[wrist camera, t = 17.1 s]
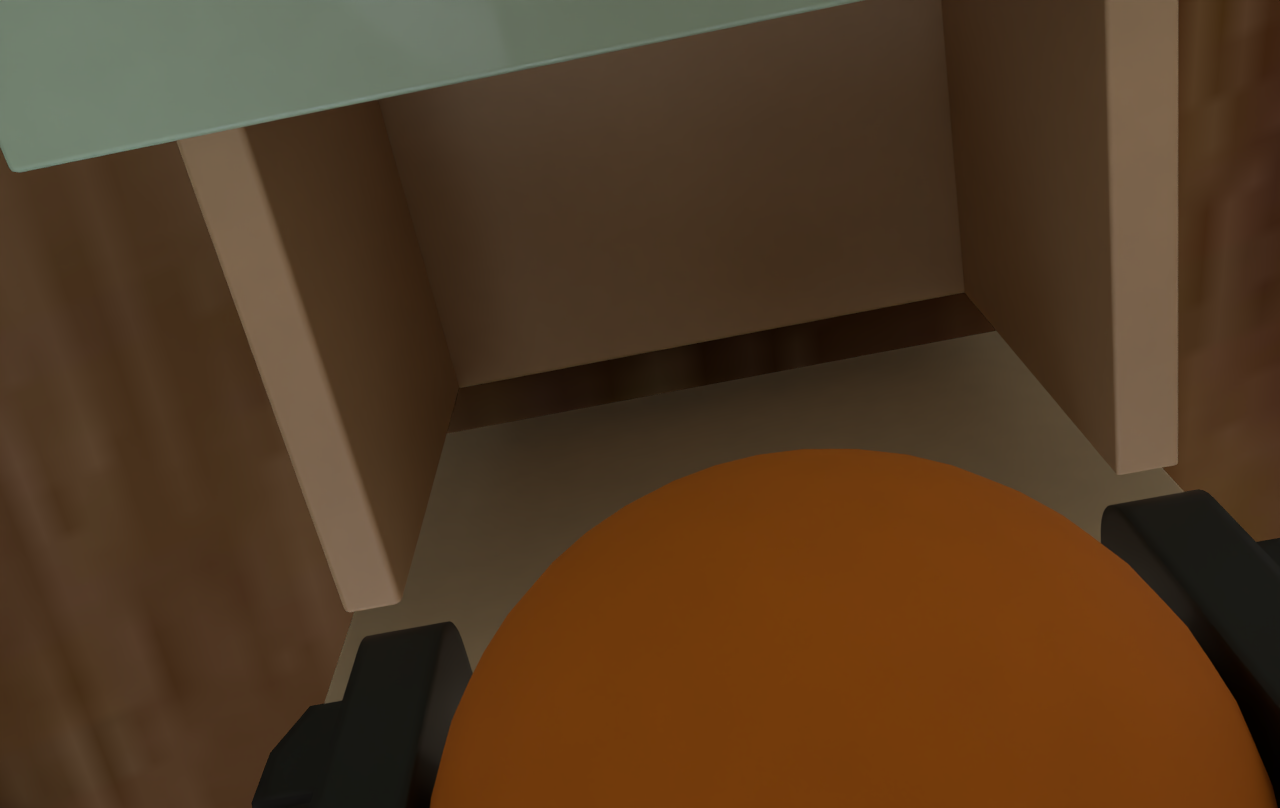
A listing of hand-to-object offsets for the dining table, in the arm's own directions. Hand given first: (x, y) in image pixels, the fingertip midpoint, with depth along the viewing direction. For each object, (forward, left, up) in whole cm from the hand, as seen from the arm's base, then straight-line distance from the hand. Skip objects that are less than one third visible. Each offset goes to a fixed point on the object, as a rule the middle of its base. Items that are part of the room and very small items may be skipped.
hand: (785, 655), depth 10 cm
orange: (0, 0, +2) cm, 2 cm away
